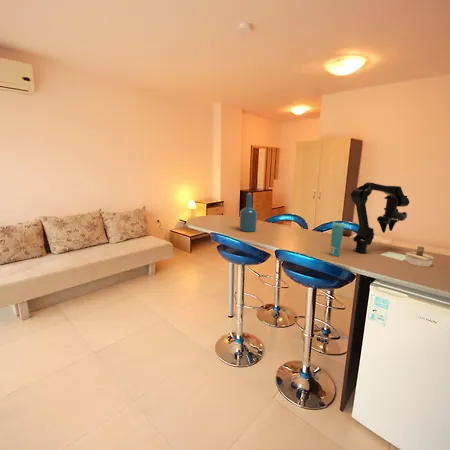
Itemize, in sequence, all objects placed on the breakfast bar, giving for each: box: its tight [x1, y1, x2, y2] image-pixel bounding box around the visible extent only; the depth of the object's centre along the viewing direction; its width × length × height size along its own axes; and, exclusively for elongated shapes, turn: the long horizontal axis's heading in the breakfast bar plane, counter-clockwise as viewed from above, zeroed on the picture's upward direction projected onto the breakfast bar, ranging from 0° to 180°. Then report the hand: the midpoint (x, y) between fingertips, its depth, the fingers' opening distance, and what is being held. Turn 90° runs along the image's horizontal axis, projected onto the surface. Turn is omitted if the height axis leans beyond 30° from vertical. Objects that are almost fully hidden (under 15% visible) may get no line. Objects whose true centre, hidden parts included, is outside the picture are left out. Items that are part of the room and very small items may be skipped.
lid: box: [405, 246, 434, 261], centre depth 142 cm, size 12×12×5 cm
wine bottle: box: [239, 192, 258, 233], centre depth 205 cm, size 14×13×30 cm
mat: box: [380, 251, 406, 262], centre depth 154 cm, size 12×12×1 cm
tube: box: [329, 221, 346, 257], centre depth 152 cm, size 7×5×19 cm, turn 47°
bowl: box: [404, 254, 434, 268], centre depth 143 cm, size 11×11×4 cm
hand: (387, 231), depth 162 cm, fingers open, 9 cm apart
